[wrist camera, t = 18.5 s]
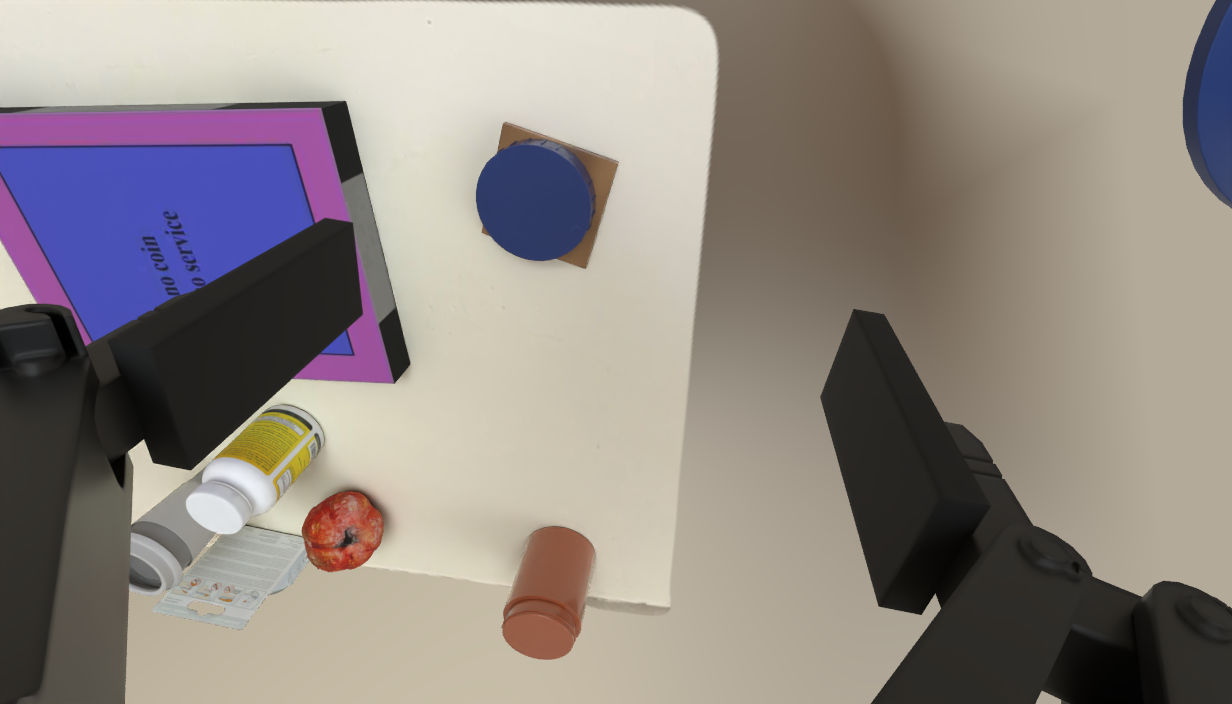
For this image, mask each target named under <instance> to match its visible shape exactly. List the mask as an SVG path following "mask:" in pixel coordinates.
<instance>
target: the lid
mask: <svg viewBox="0 0 1232 704" xmlns="http://www.w3.org/2000/svg"><path fill="white" fill-rule="evenodd" d="M585 167H586V166H584V165H583V164H582V162H581V161H580V160H579V159H578V158H577V157H576V156H575V153H574V154H573V153H572V152H570V151H569V150H568V149H566V148H565V147H563V146H562V145H561V144H560V145H559V144H557V143H555V142H551V141H548V140H547V139H545V140H543V139H532V138H529V139H526V140H521V141H518V142H517V141H515V142H513V143H512V144H510V145H509V146H507V147H506V148H504V147H503V148H502V149H501V150H499V151H498V152H497V154H496V155H495V156H494V157H492V158H491V159H490V160H489V161H488V162H487V164H486V165H485V167H484V169H483V170H482V172H481V174H480V177H479V180H478V183H477V189H476V203H477V209H478V213H479V216H480V219H481V221H482V223H483V225H484V227H485V229H486V230H487V232H488V233H489V235H490V236H491V237H492V238H493V239H494V241H495V242H496V243H498V244H499V245H500V246H501V247H502V248H504V249H505V250H506V251H508V252H510V253H512V254H513V255H516V256H518V257H521V258H524V259H528V260H534V261H545V260H552V259H556V258H559V257H561V256H563V255H565V254H567V253H569V252H570V251H571V250H573V249H574V248H575V247H576V246H577V245H578V244H579V243H581V241H582V239H583V237H584V235H585V234H586V232H587V231H589V229H590V227H591V225H592V224H591V222H592V219H593V216H594V214H595V212H596V210H595V205H596V195H595V190H594V186H593V180H592V179H591V177H590V175H589V173H588V171H587V169H586V168H585Z"/></svg>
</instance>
